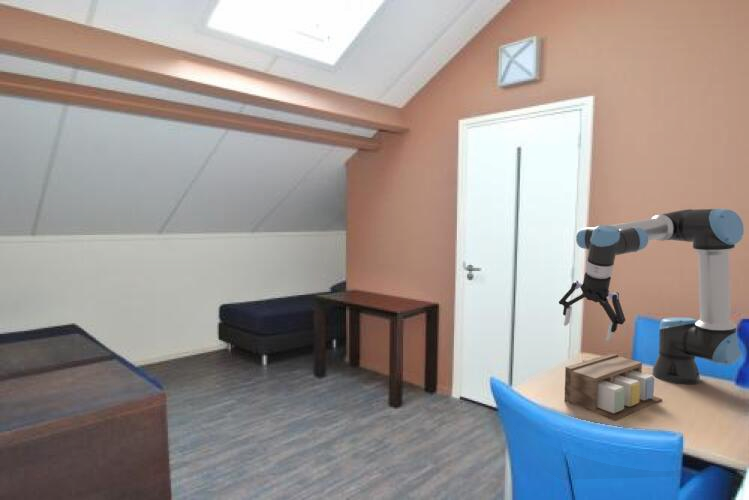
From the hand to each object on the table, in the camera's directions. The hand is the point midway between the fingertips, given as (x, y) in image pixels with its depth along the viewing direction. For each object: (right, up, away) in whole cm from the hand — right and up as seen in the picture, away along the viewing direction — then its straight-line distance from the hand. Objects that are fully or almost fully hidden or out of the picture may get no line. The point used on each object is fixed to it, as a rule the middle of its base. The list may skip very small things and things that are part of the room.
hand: (586, 331), depth 152 cm
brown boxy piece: (+10, -24, +1) cm, 26 cm away
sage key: (+4, -23, -6) cm, 24 cm away
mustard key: (+12, -23, -1) cm, 26 cm away
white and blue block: (+19, -23, +3) cm, 30 cm away
